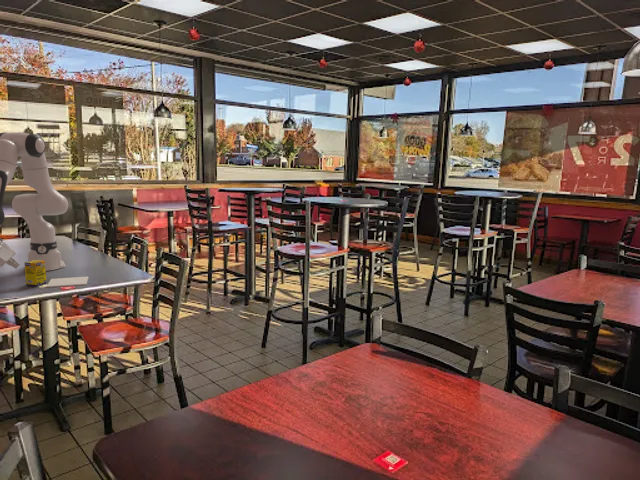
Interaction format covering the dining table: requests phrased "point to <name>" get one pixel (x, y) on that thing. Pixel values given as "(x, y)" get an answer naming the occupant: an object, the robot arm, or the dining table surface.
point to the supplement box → (35, 273)
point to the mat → (67, 282)
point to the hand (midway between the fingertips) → (18, 266)
